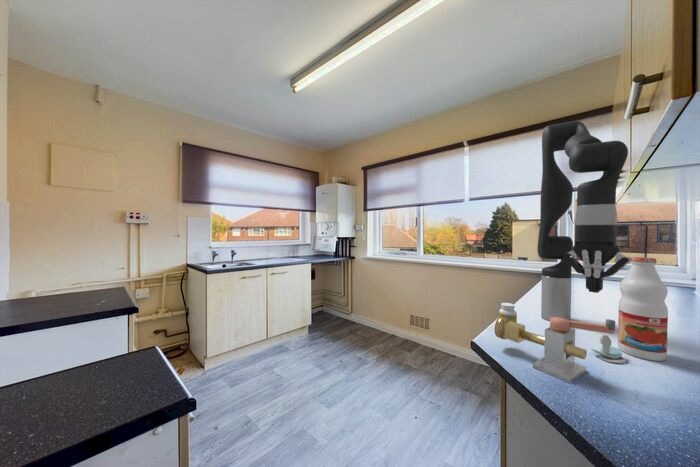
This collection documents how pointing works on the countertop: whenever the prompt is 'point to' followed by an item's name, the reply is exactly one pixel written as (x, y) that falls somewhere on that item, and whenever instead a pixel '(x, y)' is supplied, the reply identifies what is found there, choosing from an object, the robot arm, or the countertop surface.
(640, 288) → the fruit juice
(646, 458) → the countertop surface
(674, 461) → the countertop surface
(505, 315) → the supplement bottle
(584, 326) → the lock lever
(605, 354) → the pacifier
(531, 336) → the gold bolt
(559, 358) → the eye bracket
